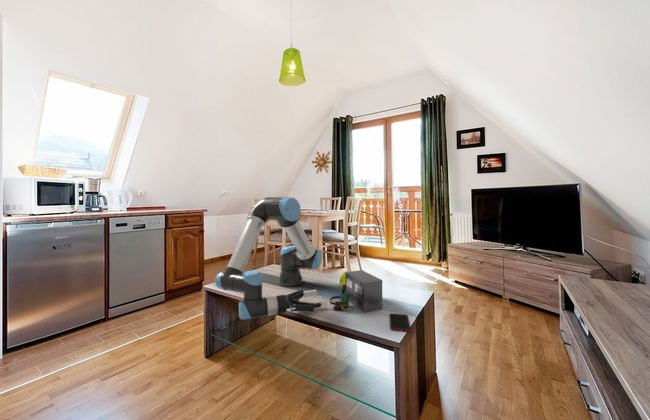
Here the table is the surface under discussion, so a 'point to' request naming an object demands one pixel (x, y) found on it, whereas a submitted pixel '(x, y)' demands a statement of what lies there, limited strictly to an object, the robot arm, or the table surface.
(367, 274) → the box
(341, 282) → the yellow toy chassis
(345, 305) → the binoculars
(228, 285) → the robot arm
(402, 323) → the cell phone
